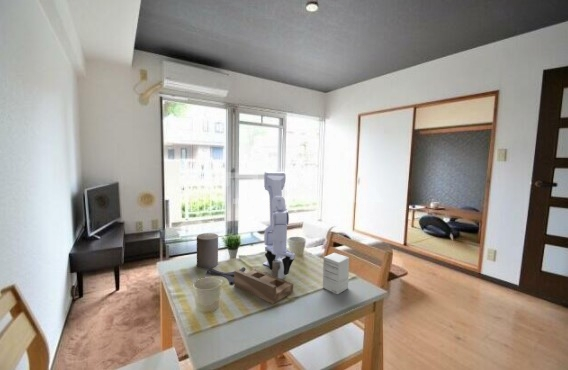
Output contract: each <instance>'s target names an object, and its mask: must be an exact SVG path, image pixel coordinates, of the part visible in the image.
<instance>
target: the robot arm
mask: <svg viewBox="0 0 568 370" xmlns="http://www.w3.org/2000/svg"><path fill="white" fill-rule="evenodd" d="M263 183H264V190H265V191H267V193H268V196H269V225H268V226H267V227H266V228H265V229H264V236H263V240H264V241H263V242H264V248H265V249H264V251H265V253H264V256H265V258H266V261H265V262H263V263H262V265H265V266H267V267H269V270H271V271H272V269H273V260H275V259H278V258H280V257H285V258H284V259H282V261H283V265H284V275H285V276H287V275H289V272H290V269H291V266H292V263H293V262H294V260H295V259H296V254H295V253H294V252H291V250H289V249H287V245H288V244H287V243H288V242H287V241H288V240H287V239H288V225H289V222H290V221H289V220H290V216H289V215H290V214H289V211H288V209H287V208H286V200H285V198H284V196H282V191H283V190H284V188H285V184H286V173H285V171H265V172H264V173H263Z"/></svg>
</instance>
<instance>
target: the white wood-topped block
mask: <svg viewBox="0 0 568 370" xmlns="http://www.w3.org/2000/svg"><path fill="white" fill-rule="evenodd" d="M284 258H285V257H280V258H278V259H275V260H273V269H272V270H271V271H272V273H271V275H272V276H274V277H277V278H279V279H282V280H284V279H286V275H284V265H283V261H282V259H284Z"/></svg>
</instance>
